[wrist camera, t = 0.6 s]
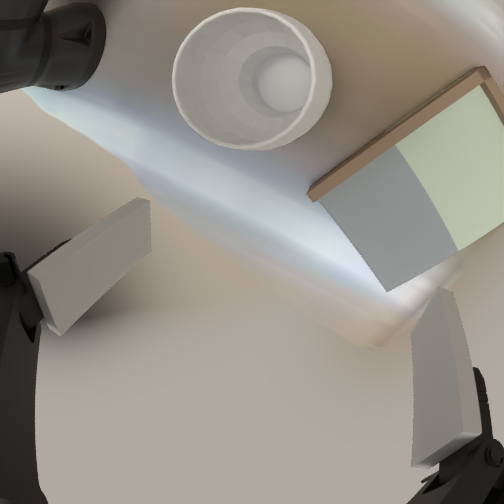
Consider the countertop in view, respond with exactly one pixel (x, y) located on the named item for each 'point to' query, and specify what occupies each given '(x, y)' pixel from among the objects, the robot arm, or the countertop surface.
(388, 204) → the rail board
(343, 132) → the countertop surface
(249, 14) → the cup
